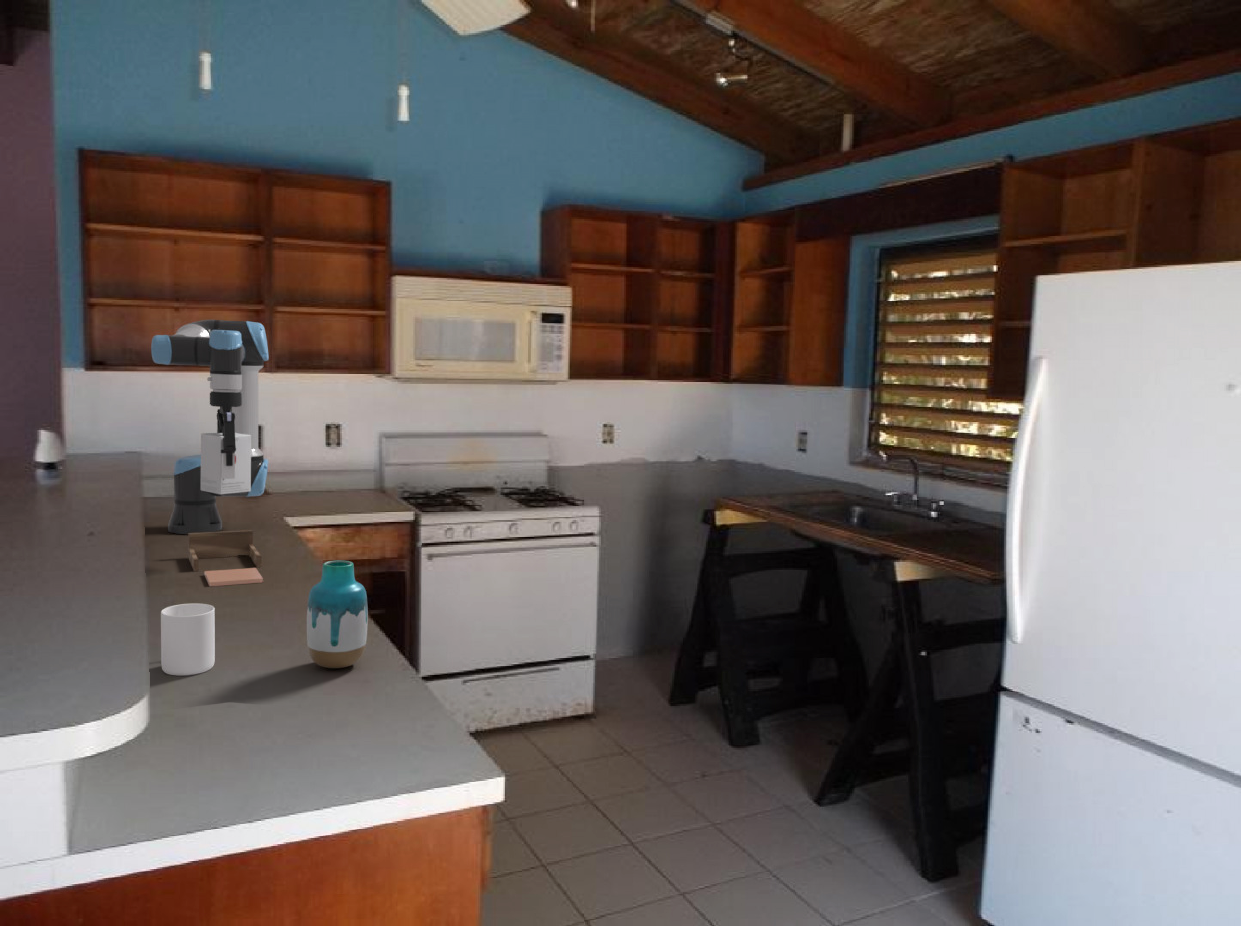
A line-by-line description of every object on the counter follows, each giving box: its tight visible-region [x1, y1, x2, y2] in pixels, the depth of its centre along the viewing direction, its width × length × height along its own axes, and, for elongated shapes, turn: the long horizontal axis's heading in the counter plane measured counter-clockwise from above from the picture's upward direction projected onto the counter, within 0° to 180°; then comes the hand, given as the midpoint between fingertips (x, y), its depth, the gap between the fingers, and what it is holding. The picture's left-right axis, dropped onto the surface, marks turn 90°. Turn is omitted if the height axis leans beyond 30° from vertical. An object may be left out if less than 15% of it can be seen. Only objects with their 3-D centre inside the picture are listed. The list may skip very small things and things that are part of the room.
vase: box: [306, 559, 369, 669], centre depth 166 cm, size 11×11×19 cm
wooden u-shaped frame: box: [187, 529, 262, 572], centre depth 242 cm, size 16×16×7 cm
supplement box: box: [200, 432, 251, 494], centre depth 235 cm, size 9×9×15 cm
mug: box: [160, 602, 216, 677], centre depth 163 cm, size 9×12×11 cm
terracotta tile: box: [204, 567, 264, 587], centre depth 225 cm, size 12×12×1 cm
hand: (226, 475), depth 236 cm, fingers closed on supplement box, 11 cm apart
